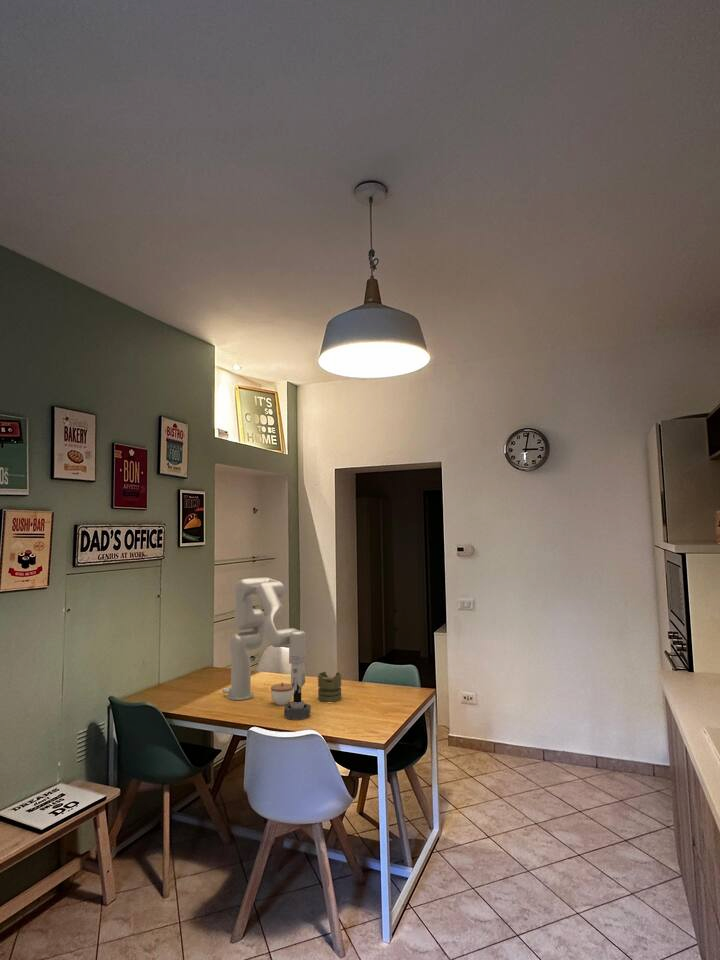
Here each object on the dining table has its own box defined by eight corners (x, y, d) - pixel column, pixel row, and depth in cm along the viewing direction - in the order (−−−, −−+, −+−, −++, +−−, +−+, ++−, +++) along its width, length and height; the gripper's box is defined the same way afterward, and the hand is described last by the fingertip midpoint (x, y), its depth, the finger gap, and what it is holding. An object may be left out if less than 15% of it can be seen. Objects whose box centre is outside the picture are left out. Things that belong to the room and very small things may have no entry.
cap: (289, 716, 240) (289, 703, 241) (292, 711, 246) (292, 699, 247) (302, 716, 240) (302, 704, 240) (305, 712, 246) (305, 700, 246)
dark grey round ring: (282, 719, 238) (282, 710, 238) (287, 711, 249) (287, 702, 249) (307, 720, 237) (307, 710, 237) (311, 712, 248) (311, 703, 248)
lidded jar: (296, 700, 267) (296, 680, 268) (289, 707, 256) (289, 686, 257) (275, 699, 269) (275, 679, 270) (267, 706, 258) (267, 685, 259)
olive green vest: (320, 671, 275) (342, 671, 274) (320, 696, 274) (342, 696, 273) (316, 676, 264) (339, 677, 263) (316, 702, 263) (339, 703, 262)
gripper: (302, 663, 238) (302, 707, 236) (308, 655, 253) (308, 697, 251) (285, 662, 238) (285, 706, 236) (292, 655, 253) (292, 696, 251)
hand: (297, 701), depth 244 cm, fingers closed
